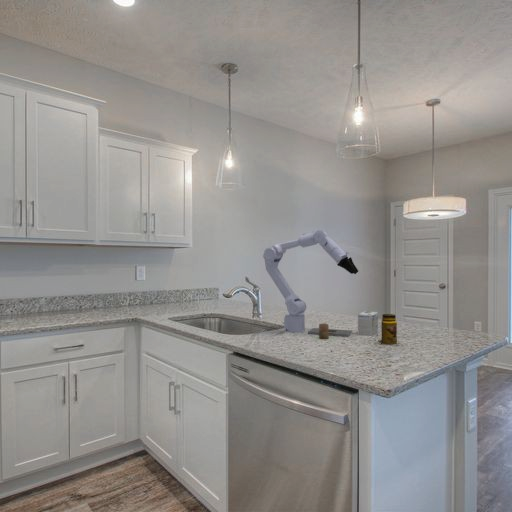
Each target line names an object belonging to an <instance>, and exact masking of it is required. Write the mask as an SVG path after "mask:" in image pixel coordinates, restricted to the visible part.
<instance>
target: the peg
mask: <svg viewBox="0 0 512 512" xmlns="http://www.w3.org/2000/svg"><path fill="white" fill-rule="evenodd" d="M318 328H319V335H318V336H319V339H329V337H330V336H329V329H330V328H329V324H328V323H318Z"/></svg>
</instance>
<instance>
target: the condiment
mask: <svg viewBox="0 0 512 512" xmlns="http://www.w3.org/2000/svg"><path fill="white" fill-rule="evenodd" d="M381 316H382V318H381V319H382V320H381V333H380V334H381V339H378V340H377V341H376V342H375V344H377V345H378V344H380V345H386V346H395V345H394V344H397V343H398V344H399V343H400V342H399V341H398V338H397V337H398V336H397V335H398V333H397V331H398V330H397V329H398V328H397V325H398V324H397V319H396V318H397V317H396V314H393V313H385V314H382V315H381ZM381 343H382V344H381ZM398 344H397V345H398Z"/></svg>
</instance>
